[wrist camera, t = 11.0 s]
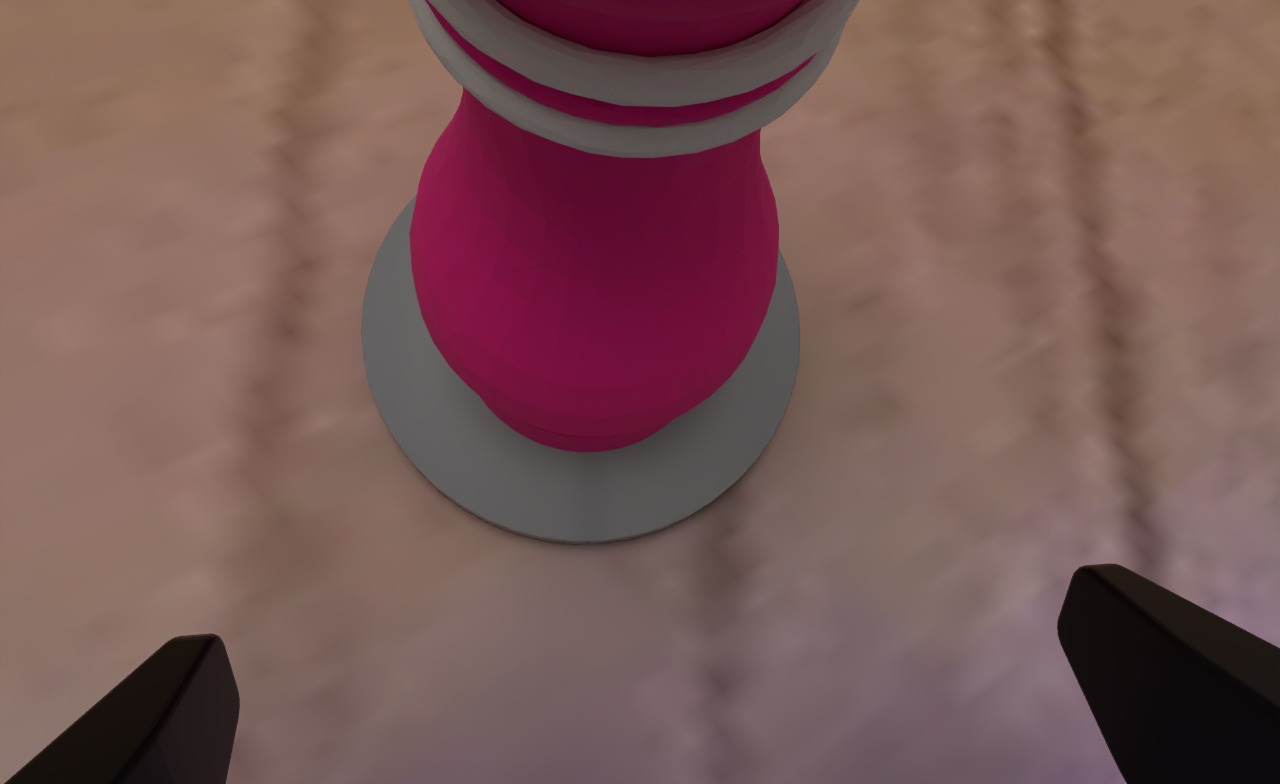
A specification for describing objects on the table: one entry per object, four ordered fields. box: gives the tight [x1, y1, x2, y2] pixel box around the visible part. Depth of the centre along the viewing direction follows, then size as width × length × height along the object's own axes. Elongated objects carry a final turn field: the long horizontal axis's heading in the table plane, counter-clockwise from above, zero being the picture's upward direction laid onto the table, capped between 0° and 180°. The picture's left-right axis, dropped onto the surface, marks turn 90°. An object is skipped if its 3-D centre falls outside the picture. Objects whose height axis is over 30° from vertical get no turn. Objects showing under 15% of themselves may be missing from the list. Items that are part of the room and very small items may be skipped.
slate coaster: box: [361, 195, 800, 545], centre depth 22 cm, size 11×11×1 cm
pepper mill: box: [409, 0, 859, 452], centre depth 12 cm, size 7×7×20 cm
